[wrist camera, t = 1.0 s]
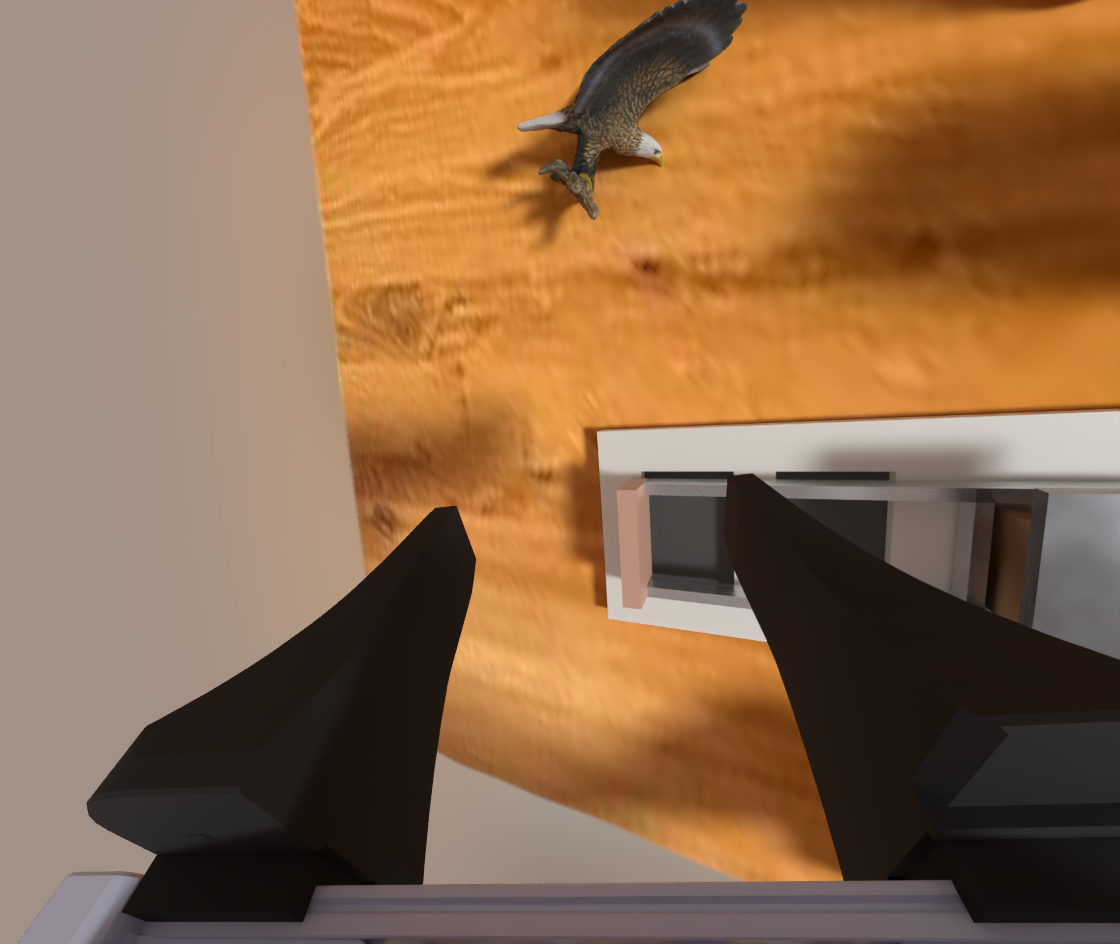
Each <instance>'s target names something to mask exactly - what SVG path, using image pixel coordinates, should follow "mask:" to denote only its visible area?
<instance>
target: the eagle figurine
mask: <svg viewBox="0 0 1120 944" xmlns="http://www.w3.org/2000/svg"><path fill="white" fill-rule="evenodd" d="M736 2H737V0H680V1H678V2H677V3H675V4H669V5H668V6H667V7H666V8H665V9H664V10H663V11H657V12H655V13H654V14H653V15H652V16H651V17H650V18H649V19H646V20H645V21H644V22H642V23H641V24H640V25H639V26H638V27H636V28H635V29H634V30H632V31H630V32H629V33H628V34H627V35H626V36H624V37H623V38H621V39H619V40H618V41H617V42H616V43H615V44H613V45H612V46H611V47H610V48H609V49H608V50H607V51H606V52H605V53H604V54H602V55H601V56H600V57H599V58H598V59H597V60H596V61H595V62H594V63H593V64H592V65H591V67H590V68H589V70H588V71H587V72H586V73H585V75H584V77H583V80H582V83H581V87H580V91H579V92H578V94H577V96H576V99H575V101H574V104H573V105H571V106H567V107H566V108H564V109H562V110H560V111H557V112H555V113H552V114H549V115H546V116H543V117H539V118H535V119H532V120H529V121H525V122H522V123H519V124H518V125H517V128H518V130H519V131H522V132H526V131H538V130H544V129H553V130H557V131H559V132H562V131H564V132H569V133H573V134H577V135H579V137H578V146H577V153H576V155H575V159H574V164H573V166H572V168H571V169H572V171H571V170H570V169H569V168H568V167H567V166H566V165H565V164H564V162H563V161H561V160H559V159H558V160H556V161H554V162H553V163H550V164H547V165H545V166H543V167H541V169H540V170H539V175H541V174H546V173H549V172H552V173H553V174H551V178H552V180H553V181H555V182H559V181H560V182H561V183H562V184H563V185H566V186H567V189H568V190H569V191H570V192H571V193H572V194H574V195H575V196H576V198H577V199H578V201H579V203H580V204H581V205H582V206H583V208H584V209H585V210H586V211H587V212H588V215H589V216H590V218H591V219H594V220H595V219H596V218H597V215H598V213H599V209H598V207H597V206H596V204H595V203H594V200H593V198H592V197H593V192H594V175H595V170H596V165H597V163H598V161H599V159H600V156H601V154H602V152H603V151H604V150H605V149H608V150H611V151H613V152H615V153H618V154H621V155H625V156H639V157H644V158H647V159H650V160H653V161H655V162H657V163H658V164H659V166H660V167H662V166H663V165H664V162H665V161H664V156H663V154H662V150H661V147H660V145H659V144H658V143H657V141H656V140H655V139H654V138H652V137H651V136H649V135H648V134H646V133H645V132H643V131H642V130H641V129H640V128H638V127H637V125H638V121H639V119H640V117H641V115H642V113H643V112H644V110H645V108H646V107H647V106H648V105H649V104H650V103H651V102H652V101H653V100H654V99H655V98H657V97H658V96H660V95H661V94H663V93H664V92H666V91H668V90H670V89H671V88H673V87H675V86H676V85H677V84H679V83H680V82H681V81H682V80H683V79H684V77H685V76H688V75H690V74H693V73H695V72H699V71H700V70H702V69H704V68H706V67H707V66H709V63H710V62H709V61H711V60H712V59H714V58H715V57H716V56H718V55H719V54H720V53H721V52H722V51H723V50H725V49H726V48H727V47H728V46H729V45H730V43H731V42H732V39H733V35H732V33H733V32H734V31H735V30H736V29H737V28H738V27H739V25H740V24H741V22H742V17H741V16H742V14H743V13H744V12H745V11H746V9H747V4H746V3H745V2H738V3H736Z"/></svg>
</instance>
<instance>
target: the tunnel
mask: <svg viewBox="0 0 1120 944" xmlns="http://www.w3.org/2000/svg"><path fill="white" fill-rule="evenodd" d="M1018 623H1020V624H1022V625H1025V626H1027V627H1030V628H1032V629H1035V630H1038V631H1040V632H1043V633H1045V634H1048V635H1051V636H1053V637H1056V638H1059V639H1062V640H1065V641H1068V642H1070V643H1073V644H1076V645H1079V646H1082V647H1085V648H1088V649H1091V650H1094V651H1096V652H1099V653H1102V654H1105V655H1108V656H1111V657H1114V658H1117V659H1120V489H1108V488H1034V493H1033V502H1032V510H1031V519H1030V527H1029V536H1028V545H1027V553H1026V562H1025V570H1024V579H1023V587H1022V596H1021V604H1020V613H1019V621H1018Z"/></svg>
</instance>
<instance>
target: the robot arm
mask: <svg viewBox="0 0 1120 944" xmlns="http://www.w3.org/2000/svg"><path fill="white" fill-rule="evenodd" d="M723 536H724V540H725V543H726V546H727V550H728V553H729V556H730V559H731V562H732V565H733V568H734V571H735V573H736V576H737V578H738V580H739V582H740V584H741V587H742V589H743V591H744V593H745V595H746V598H747V600H748V602H749V604H750V606H751V608H752V610H753V613H754V615H755V617H756V619H757V621H758V623H759V625H760V628H761V630H762V632H763V634H764V636H765V638H766V640H767V643H768V645H769V647H770V649H771V652H772V654H773V657H774V659H775V661H776V664H777V666H778V669H779V672H780V675H781V678H782V681H783V683H784V686H785V689H786V692H787V695H788V698H789V701H790V704H791V707H792V710H793V713H794V716H795V719H796V722H797V725H798V728H799V731H800V734H801V737H802V740H803V743H804V746H805V749H806V752H807V756H808V759H809V762H810V765H811V769H812V772H813V775H814V778H815V782H816V785H817V788H818V791H819V795H820V798H821V801H822V805H823V808H824V812H825V815H826V819H827V822H828V826H829V829H830V833H831V836H832V840H833V843H834V847H835V850H836V854H837V857H838V861H839V865H840V868H841V872H842V876H843V879H844V881H787V882H676V883H574V884H573V883H572V884H571V883H567V884H562V883H561V884H453V885H452V884H451V885H450V884H448V885H422V884H423V878H424V864H425V853H426V843H427V832H428V821H429V811H430V803H431V794H432V785H433V777H434V768H435V761H436V754H437V748H438V741H439V734H440V727H441V720H442V714H443V708H444V702H445V697H446V691H447V685H448V681H449V676H450V672H451V668H452V664H453V661H454V657H455V653H456V650H457V646H458V642H459V639H460V635H461V631H462V628H463V624H464V620H465V617H466V613H467V609H468V605H469V602H470V598H471V594H472V588H473V581H474V573H475V565H476V557H475V555H474V552H473V549H472V547H471V544H470V541H469V539H468V536H467V533H466V530H465V528H464V525H463V522H462V520H461V517H460V514H459V511H458V509H457V506H449V507H440V508H435V509H434V510H433V511H432V512H430V513H429V514H428V515H427V516H426V517H425V518H424V519H423V520H422V522H421V523H420V524H419V525H418V526H417V527H416V528H415V529H414V530H413V531H412V532H411V533H410V534H409V535H408V536H407V537H406V538H405V539H404V540H403V541H402V542H401V543H400V544H399V545H398V546H397V547H396V549H395V550H394V551H393V552H392V553H391V554H390V555H389V556H388V557H387V558H386V559H385V560H384V561H383V562H382V563H381V564H380V565H379V566H377V567H376V568H375V569H374V570H373V571H372V572H371V573H370V574H369V575H368V576H367V577H366V578H365V579H364V580H363V581H362V582H361V583H359V584H358V585H357V586H356V587H355V588H354V589H353V590H352V591H351V592H350V593H348V594H347V595H346V596H345V597H344V598H343V599H342V600H340V601H339V602H338V603H337V604H336V605H335V606H333V607H332V608H331V609H329V610H328V611H327V612H326V613H325V614H323V615H322V616H321V617H320V618H318V619H317V620H316V621H314V622H313V623H312V624H310V625H309V626H308V627H306V628H305V629H304V630H302V631H301V632H299V633H298V634H297V635H295V636H294V637H292V638H291V639H290V640H288V641H287V642H285V643H284V644H283V645H281V646H280V647H279V648H277V649H276V650H274V651H273V652H271V653H270V654H268V655H267V656H265V657H264V658H262V659H261V660H259V661H258V662H256V663H255V664H253V665H252V666H250V667H249V668H247V669H245V670H244V671H242V672H241V673H239V674H237V675H236V676H234V677H232V678H231V679H229V680H228V681H226V682H224V683H223V684H221V685H219V686H218V687H216V688H214V689H213V690H211V691H209V692H208V693H206V694H204V695H202V696H200V697H199V698H197V699H195V700H193V701H191V702H190V703H188V704H186V705H184V706H182V707H181V708H179V709H177V710H175V711H173V712H172V713H170V714H168V715H167V716H164V717H163V718H161V719H159V720H157V721H155V722H153V723H151V724H150V725H148V726H146V727H145V728H144V730H143V731H142V732H141V733H140V735H139V736H138V737H137V738H136V740H135V741H134V742H133V744H132V745H131V746H130V747H129V749H128V750H127V751H126V753H125V754H124V755H123V757H122V758H121V759H120V760H119V762H118V763H117V764H116V765H115V767H114V768H113V769H112V771H111V772H110V773H109V774H108V776H107V777H106V778H105V780H104V781H103V782H102V783H101V785H100V786H99V787H98V789H97V790H96V791H95V792H94V794H93V795H92V796H91V798H90V799H89V800H88V801H87V809H88V814H89V816H90V817H91V818H92V819H93V820H94V821H95V822H96V823H97V824H99V825H100V826H102V827H104V828H105V829H107V830H109V831H111V832H112V833H115V834H116V835H118V836H120V837H122V838H124V839H126V840H129V841H130V842H133V843H134V844H137V845H139V846H141V847H143V848H144V849H146V850H148V851H150V852H152V853H155V854H157V856H156V857H155V859H154V860H153V862H152V864H151V865H150V867H149V868H148V870H147V872H146V873H145V875H142V874H138V873H132V872H121V871H120V872H119V871H116V872H74V873H72V874H70V875H68V876H66V877H65V879H64V880H63V881H62V883H61V884H60V885H59V887H58V888H57V889H56V891H55V892H54V894H53V895H52V896H51V898H50V899H49V900H48V902H47V903H46V905H45V906H44V907H43V909H42V910H41V911H40V913H39V914H38V915H37V917H36V918H35V919H34V921H33V922H32V924H31V925H30V926H29V928H28V929H27V930H26V932H25V933H24V935H23V936H22V937H21V939H20V940H19V941H18V943H17V944H1120V659H1117V658H1114V657H1111V656H1108V655H1105V654H1102V653H1099V652H1096V651H1094V650H1091V649H1088V648H1085V647H1082V646H1079V645H1076V644H1073V643H1070V642H1068V641H1065V640H1062V639H1059V638H1056V637H1053V636H1051V635H1048V634H1045V633H1043V632H1040V631H1038V630H1035V629H1032V628H1030V627H1027V626H1025V625H1022V624H1020V623H1017V622H1015V621H1012V620H1010V619H1007V618H1004V617H1002V616H999V615H997V614H995V613H992V612H990V611H987V610H985V609H983V608H980V607H978V606H976V605H973V604H971V603H969V602H966V601H964V600H962V599H960V598H958V597H955V596H953V595H951V594H949V593H947V592H945V591H942V590H940V589H938V588H936V587H934V586H931V585H929V584H927V583H925V582H923V581H921V580H919V579H917V578H915V577H913V576H911V575H909V574H907V573H905V572H903V571H901V570H900V569H898V568H896V567H894V566H892V565H890V564H888V563H887V562H885V561H883V560H881V559H879V558H877V557H875V556H874V555H872V554H870V553H868V552H867V551H865V550H863V549H861V548H860V547H858V546H857V545H855V544H853V543H852V542H850V541H848V540H847V539H845V538H844V537H842V536H840V535H839V534H837V533H836V532H834V531H833V530H831V529H829V528H828V527H826V526H825V525H823V524H822V523H820V522H819V521H818V520H816V519H815V518H813V517H812V516H810V515H809V514H807V513H806V512H805V511H803V510H802V509H800V508H799V507H798V506H796V505H795V504H793V503H792V502H791V501H789V500H788V499H787V498H785V497H784V496H783V495H781V494H780V493H779V492H777V491H776V490H775V489H773V488H772V487H771V486H769V485H768V484H767V483H765V482H764V481H763V480H761V479H760V478H758V477H757V476H756V475H754V474H753V473H749V474H740V475H731V476H727V491H726V505H725V519H724V533H723Z"/></svg>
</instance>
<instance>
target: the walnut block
mask: <svg viewBox="0 0 1120 944" xmlns="http://www.w3.org/2000/svg"><path fill="white" fill-rule="evenodd" d="M1031 510H1032V504H1018V503H995V509H994V519H993V529H992V539H991V549H990V559H989V568H988V578H987V588H986V598H985V606H986V607H987V608H988V609H989V610H990V611H991V612H992V613H995V614H997V615H999V616H1002V617H1004V618H1007V619H1010V620H1012V621H1015V622H1017V623H1018V621H1019V613H1020V604H1021V596H1022V587H1023V579H1024V570H1025V562H1026V553H1027V545H1028V536H1029V527H1030V519H1031Z"/></svg>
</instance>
